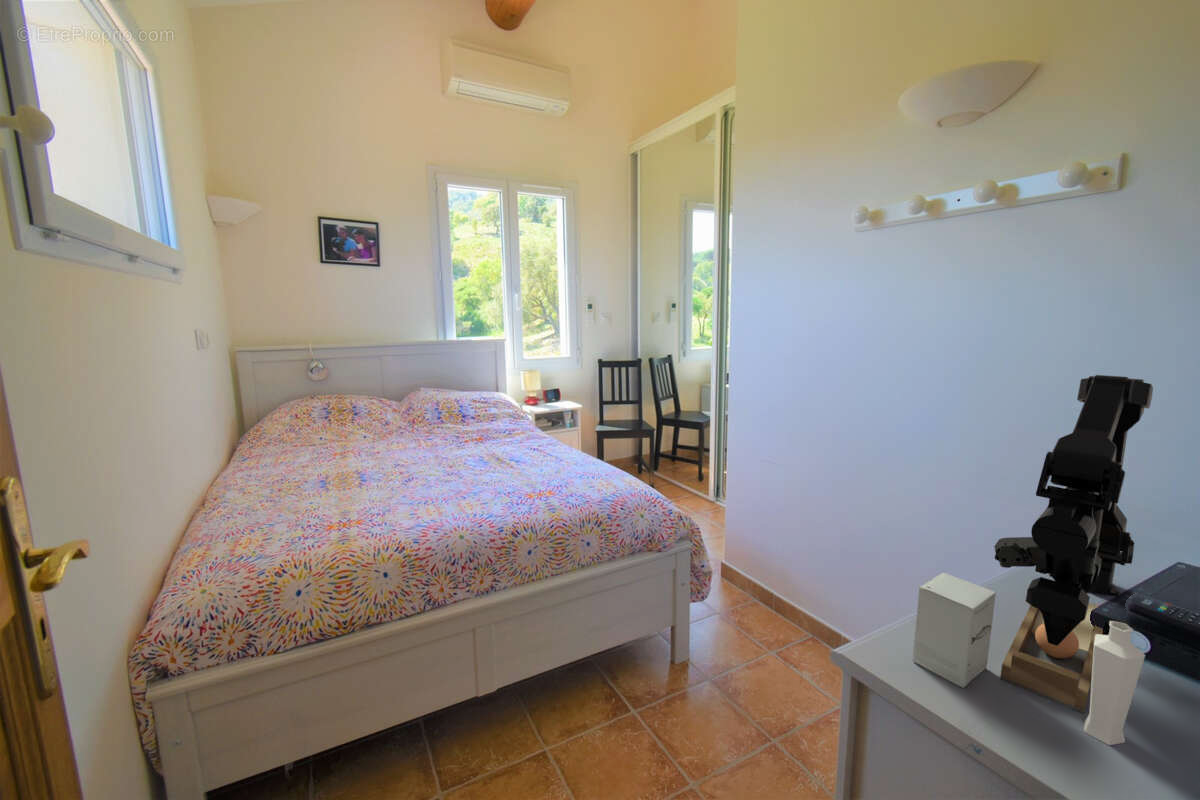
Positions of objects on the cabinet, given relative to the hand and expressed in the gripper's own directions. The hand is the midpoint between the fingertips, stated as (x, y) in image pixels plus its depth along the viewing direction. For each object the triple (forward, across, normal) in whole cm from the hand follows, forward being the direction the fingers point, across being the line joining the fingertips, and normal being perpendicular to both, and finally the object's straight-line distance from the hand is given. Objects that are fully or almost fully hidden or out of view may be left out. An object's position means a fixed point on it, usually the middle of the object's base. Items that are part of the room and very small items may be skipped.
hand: (1058, 629), depth 79 cm
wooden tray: (+5, -2, 0) cm, 5 cm away
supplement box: (+5, +13, -10) cm, 17 cm away
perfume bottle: (+5, +14, +6) cm, 16 cm away
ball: (+2, 0, 0) cm, 2 cm away
